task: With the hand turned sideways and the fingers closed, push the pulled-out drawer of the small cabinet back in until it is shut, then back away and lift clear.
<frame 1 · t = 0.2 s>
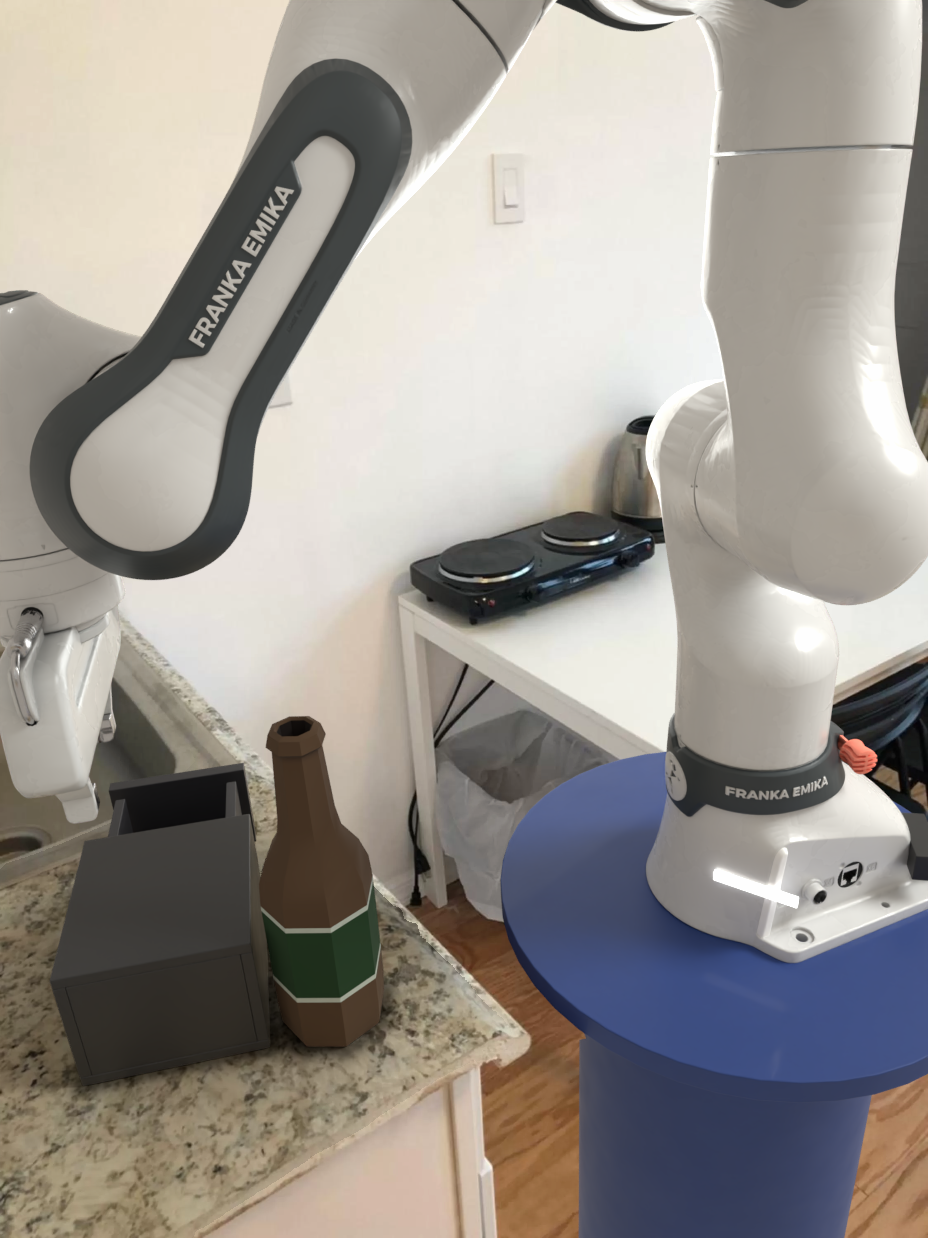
hand: (94, 774, 62), 20 cm above the table, tool pointing down, fingers open, 8 cm apart
drawer: (182, 840, 79), point 5 cm above the table, slide at 8.0 cm
cabinet: (184, 987, 71), on the table
beer bottle: (335, 1011, 68), on the table
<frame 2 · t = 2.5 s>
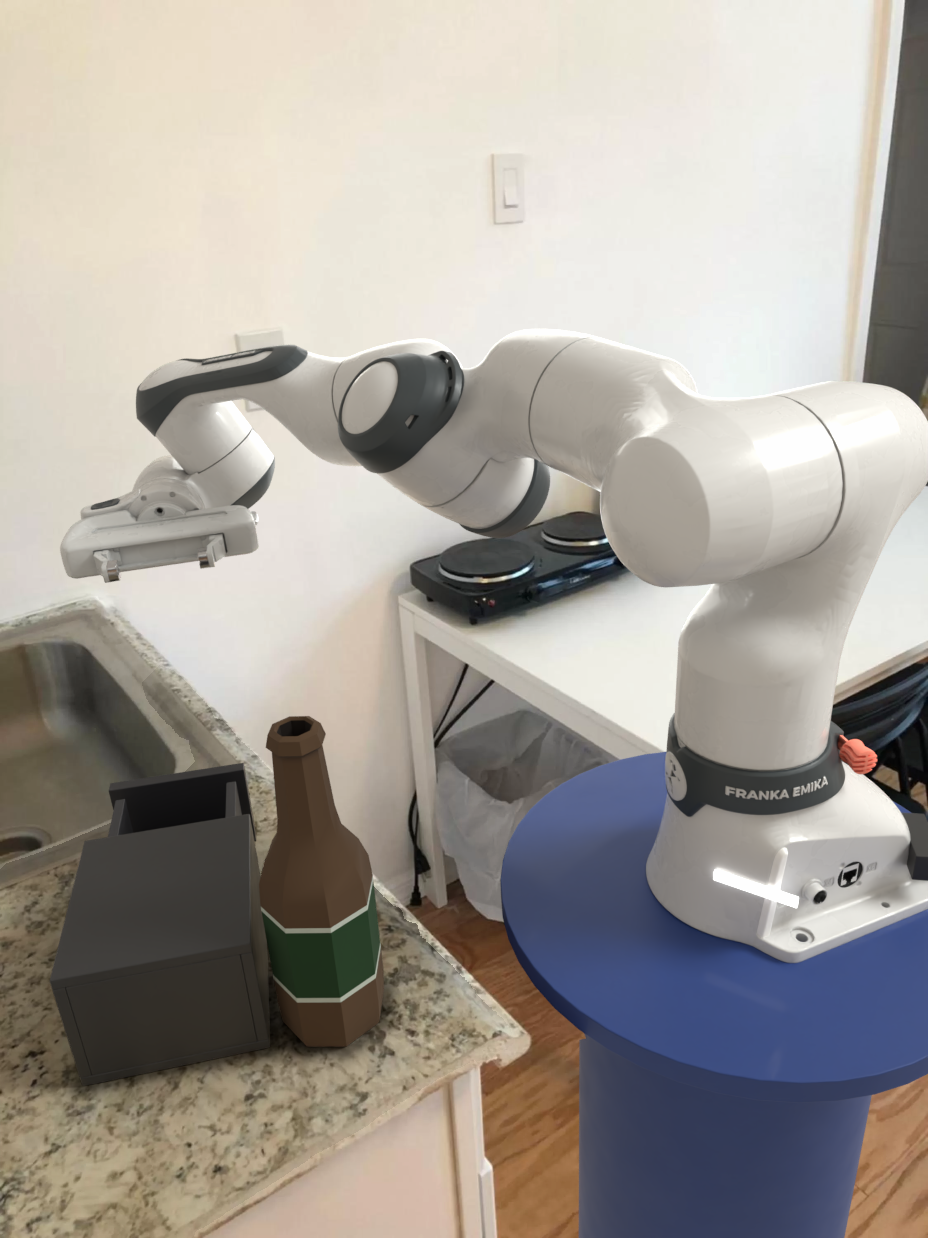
hand: (158, 568, 94), 21 cm above the table, tool horizontal, fingers open, 8 cm apart
nothing on the table moved.
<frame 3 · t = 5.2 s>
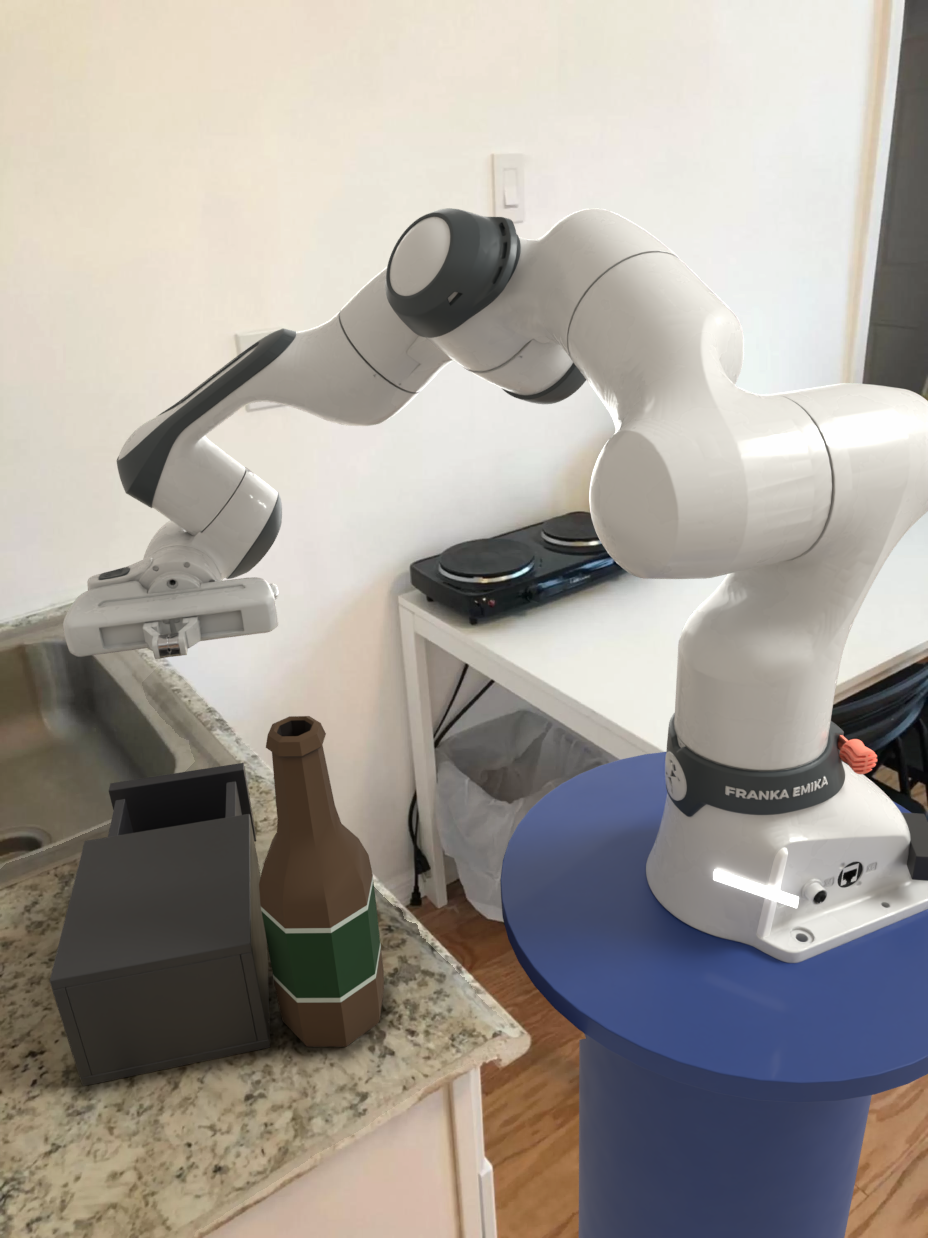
hand: (169, 650, 86), 16 cm above the table, tool horizontal, fingers closed
nothing on the table moved.
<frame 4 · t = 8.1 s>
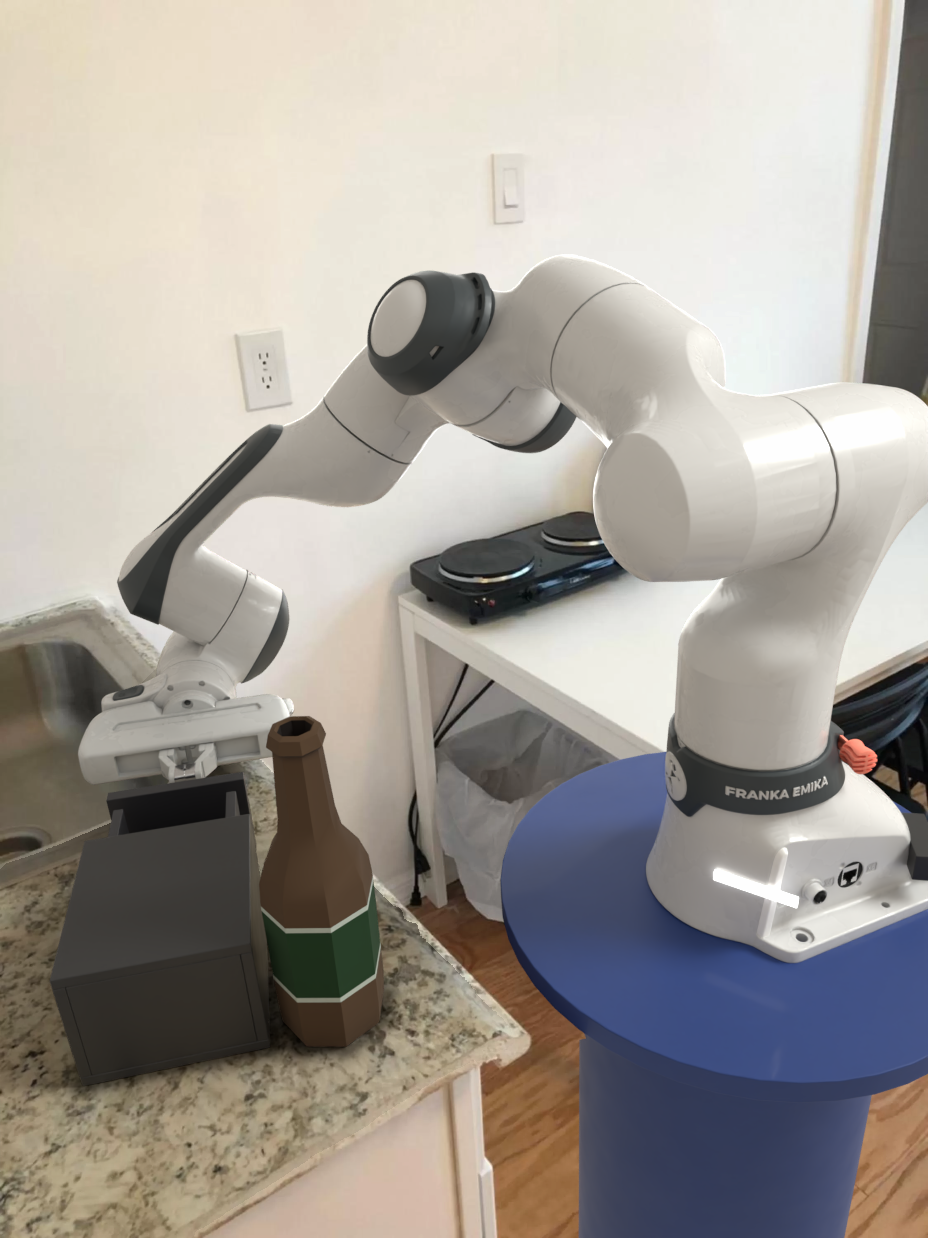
hand: (185, 782, 86), 6 cm above the table, tool horizontal, fingers closed, pressing on drawer
drawer: (181, 851, 78), point 5 cm above the table, slide at 6.5 cm, touching gripper
everything else where it was.
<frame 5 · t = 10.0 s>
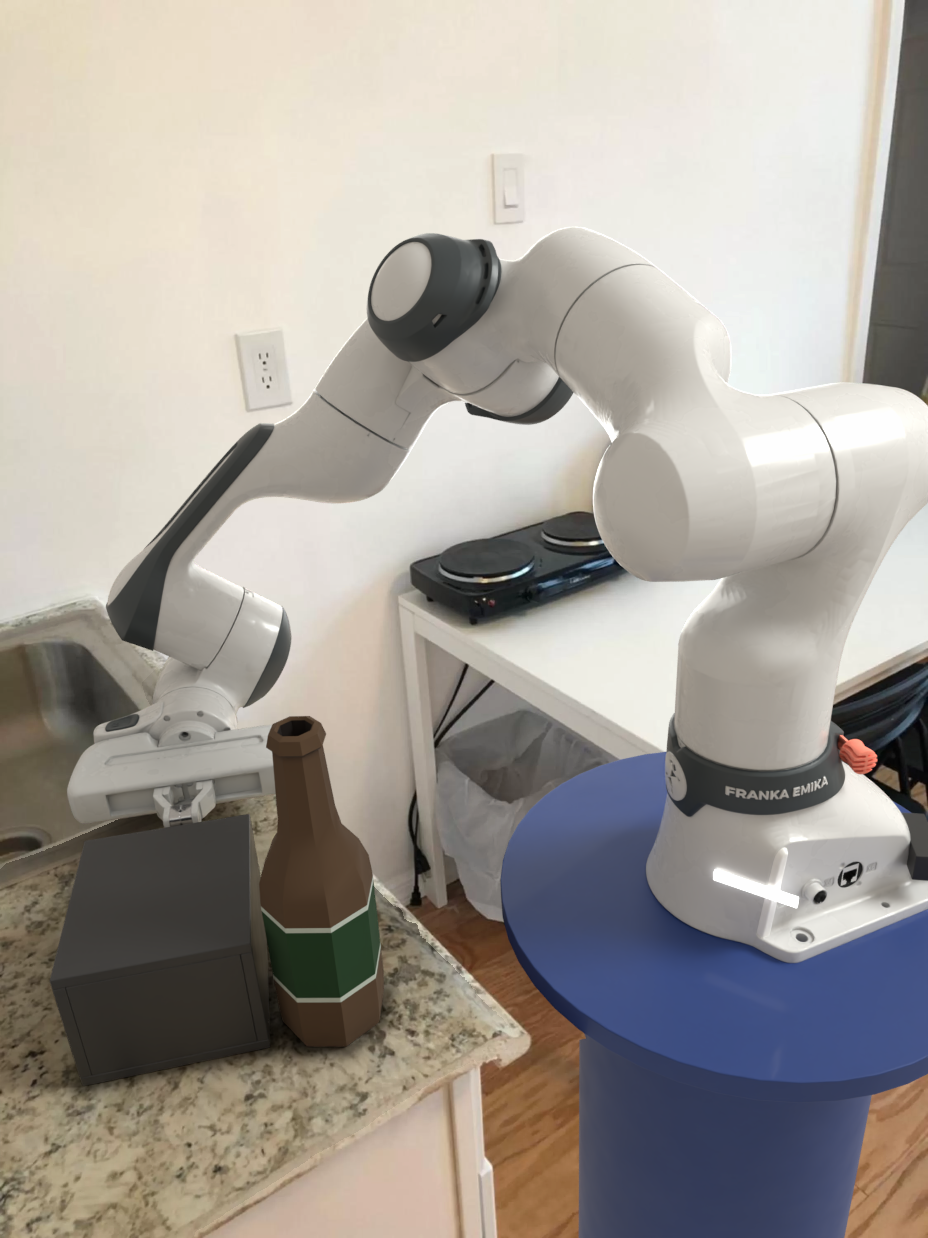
hand: (181, 825, 80), 6 cm above the table, tool horizontal, fingers closed, pressing on drawer
drawer: (176, 903, 72), point 5 cm above the table, slide at 0.0 cm, touching cabinet, gripper
everything else where it was.
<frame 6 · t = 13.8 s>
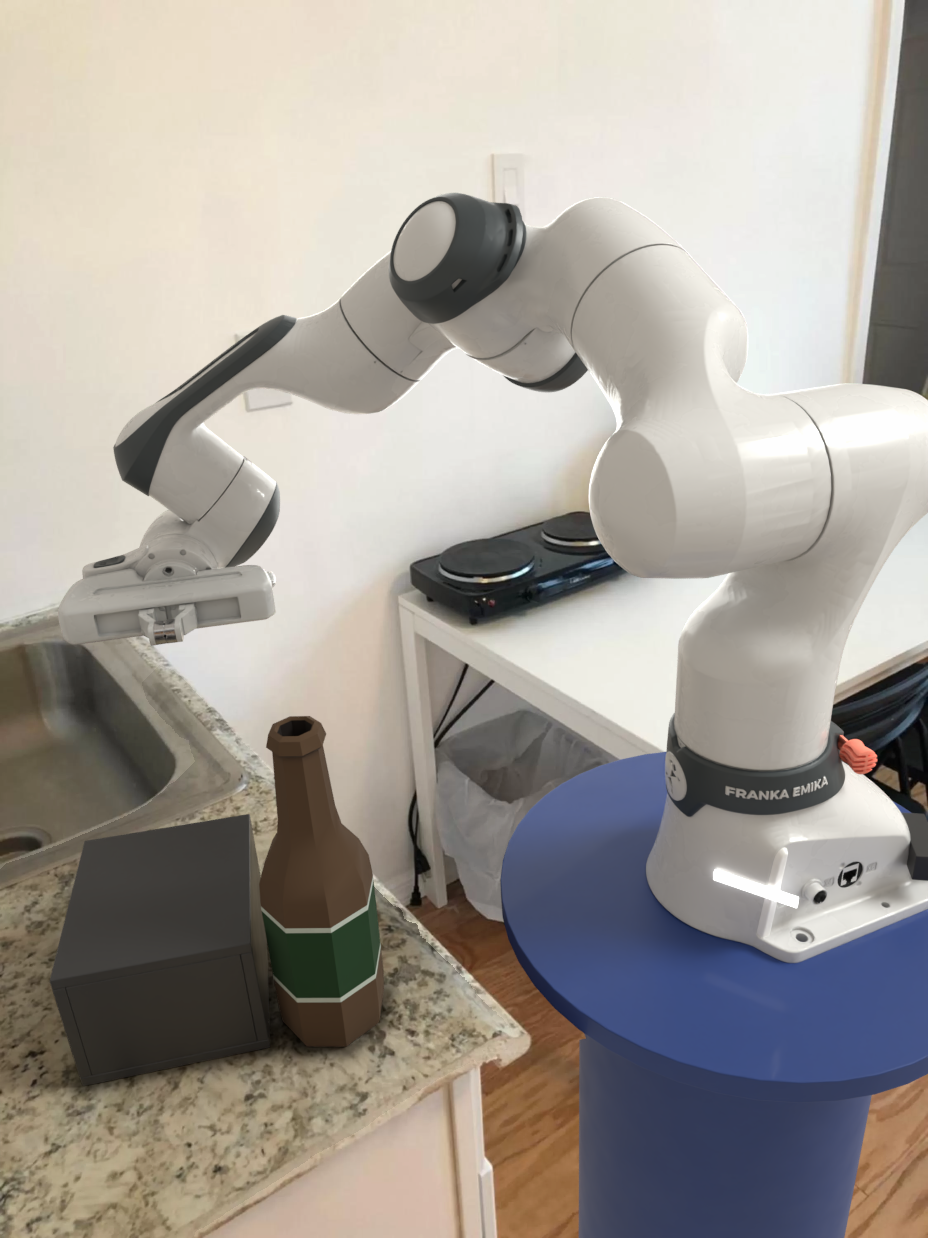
hand: (165, 636, 85), 18 cm above the table, tool horizontal, fingers closed
drawer: (176, 903, 72), point 5 cm above the table, slide at 0.0 cm
everything else where it was.
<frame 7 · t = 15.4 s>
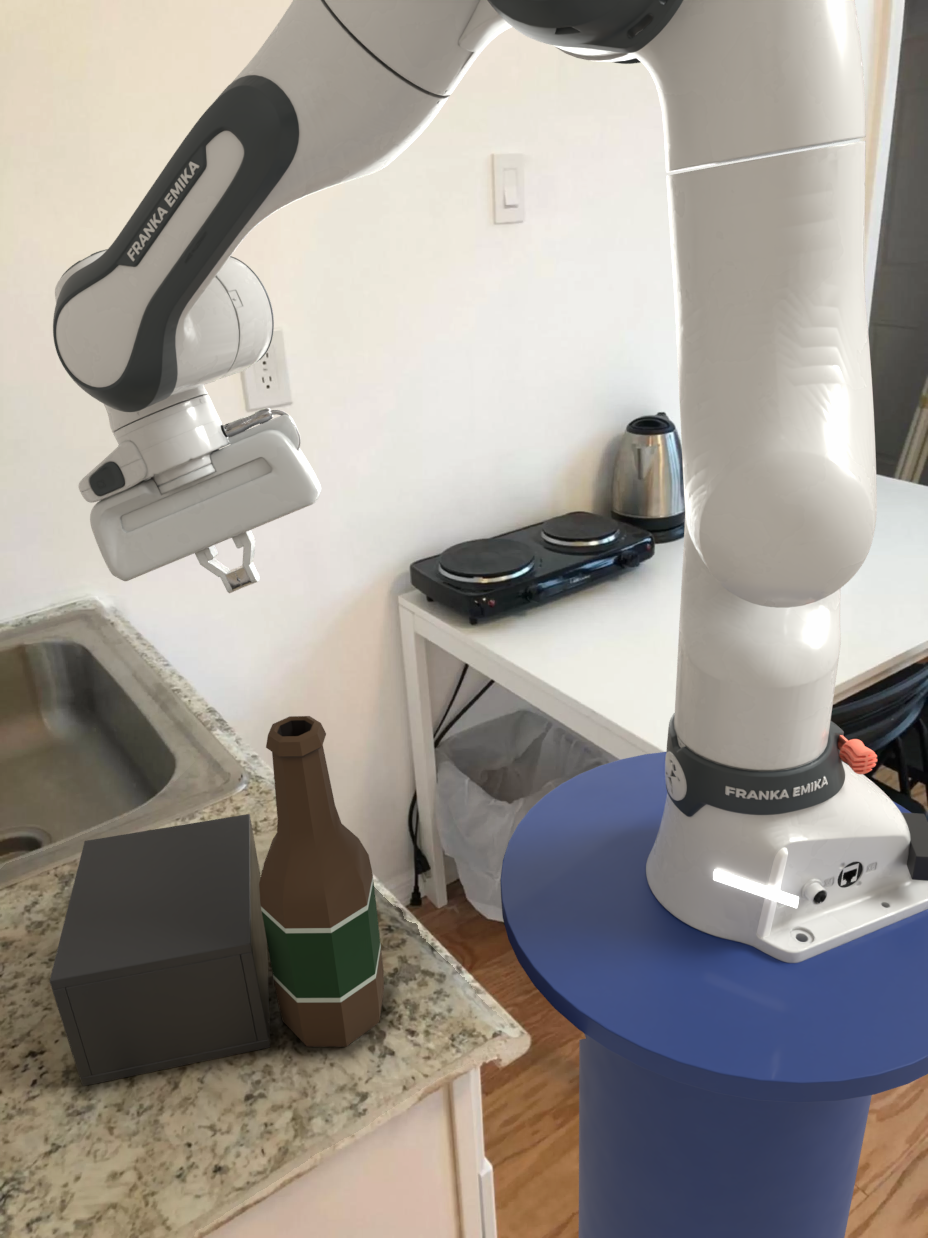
hand: (244, 586, 86), 22 cm above the table, tool tilted 20°, fingers closed
nothing on the table moved.
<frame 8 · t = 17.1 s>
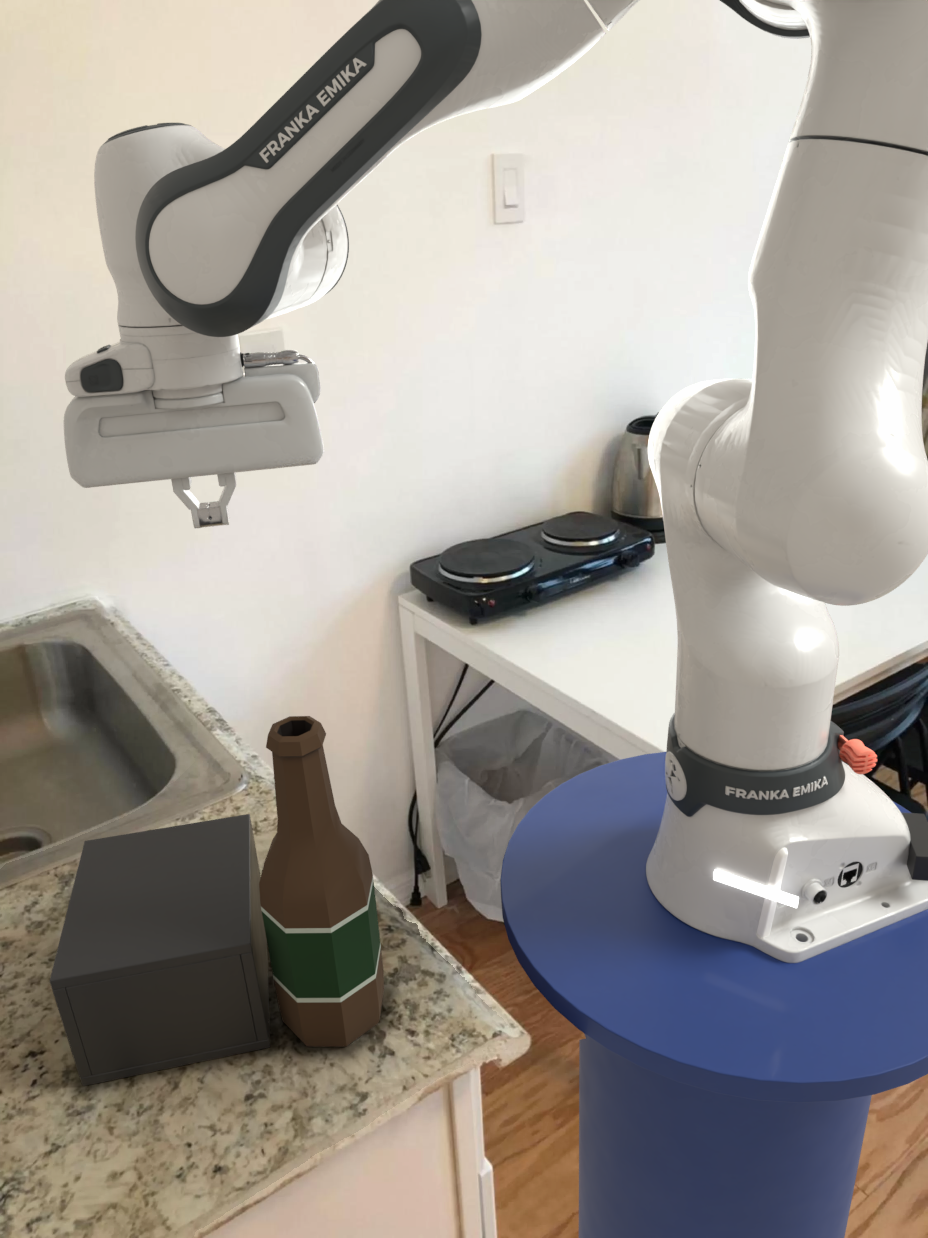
hand: (212, 524, 79), 29 cm above the table, tool pointing down, fingers closed
nothing on the table moved.
at the end: drawer slide at 0.0 cm; beer bottle moved 0.2 cm from its start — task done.
